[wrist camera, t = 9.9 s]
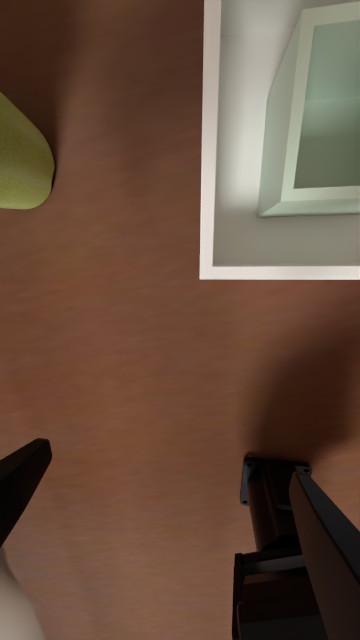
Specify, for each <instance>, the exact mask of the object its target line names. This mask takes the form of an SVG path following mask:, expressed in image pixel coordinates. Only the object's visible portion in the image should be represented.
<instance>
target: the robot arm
mask: <svg viewBox="0 0 360 640" xmlns="http://www.w3.org/2000/svg"><path fill="white" fill-rule="evenodd" d="M51 459H52V451H51V446H50V442H49V440H48V439H43V438H37V439H35V440H33V441H32V442H30V443H28V444H27V445H25V446H23V447H22V448H20V449H18V450H17V451H15V452H13V453H12V454H10V455H8V456H7V457H5V458H3V459H2V460H0V548H1V546H2V545H3V543H4V541H5V540H6V538H7V537H8V535H9V534H10V532H11V531H12V529H13V527H14V526H15V524H16V523H17V521H18V520H19V518H20V516H21V515H22V513H23V511H24V510H25V508H26V506H27V505H28V503H29V501H30V499H31V497H32V496H33V494H34V492H35V490H36V488H37V486H38V484H39V483H40V481H41V479H42V477H43V475H44V473H45V471H46V470H47V468H48V466H49V464H50V462H51ZM311 473H312V469H311V467H310V465H309V464H307V463H299V462H289V461H279V460H269V459H258V458H245V459H244V463H243V472H242V482H241V491H240V502H241V504H242V505H246V506H249V507H250V513H251V519H252V525H253V531H254V537H255V543H256V549H257V552H251V553H246V554H242V553H237V554H235V566H234V582H233V615H232V639H233V640H360V531H359V530H358V529H357V528H356V527H355V526H354V525H353V524H352V523H351V521H350V520H349V519H348V518H347V517H346V516H345V515H344V514H343V513H342V512H341V510H340V509H339V508H338V507H337V506H336V505H335V504H334V503H333V502H332V500H331V499H330V498H329V497H328V496H327V495H326V494H325V493H324V492H323V490H322V489H321V488H320V487H319V486H318V485H317V484H316V483H315V482H314V480H313V479H312V478H311Z"/></svg>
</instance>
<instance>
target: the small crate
mask: <svg viewBox="0 0 360 640" xmlns="http://www.w3.org/2000/svg"><path fill="white" fill-rule="evenodd" d="M353 214H360V1H358V2H351V3H345V4H338V5H331V6H324V7H317V8H310V9H303V10H302V12H301V15H300V17H299V20H298V22H297V25H296V27H295V30H294V32H293V35H292V37H291V40H290V42H289V45H288V47H287V50H286V52H285V55H284V58H283V60H282V63H281V65H280V68H279V70H278V73H277V75H276V78H275V80H274V83H273V85H272V88H271V90H270V93H269V95H268V98H267V104H266V116H265V128H264V140H263V151H262V163H261V175H260V187H259V199H258V210H257V218H268V217H296V216H325V215H353Z"/></svg>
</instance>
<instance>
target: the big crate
mask: <svg viewBox="0 0 360 640" xmlns="http://www.w3.org/2000/svg"><path fill="white" fill-rule="evenodd" d="M358 1H360V0H204V49H203V109H202V169H201V229H200V279H301V280H360V214H353V215H325V216H296V217H268V218H257V210H258V199H259V187H260V175H261V163H262V151H263V140H264V128H265V116H266V104H267V98H268V95H269V93H270V90H271V88H272V85H273V83H274V80H275V78H276V75H277V73H278V70H279V68H280V65H281V63H282V60H283V58H284V55H285V52H286V50H287V47H288V45H289V42H290V40H291V37H292V35H293V32H294V30H295V27H296V25H297V22H298V20H299V17H300V15H301V12H302V10H303V9H310V8H317V7H324V6H331V5H338V4H345V3H351V2H358Z"/></svg>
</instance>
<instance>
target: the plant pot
mask: <svg viewBox="0 0 360 640" xmlns="http://www.w3.org/2000/svg"><path fill="white" fill-rule="evenodd" d="M54 169H55V167H54V160H53V156H52V152H51V150H50V147H49V145H48V143H47V141H46V139H45V138H44V136H43V135H42V133H41V132H40V131H39V130H38V129H37V127H36V126H35V125H34V124H33V123H32V122H31V121H30V120H29V119H28V118H27V117H26V116H25V115H24V114H23V113H22V112H21V111H20V110H18V109H17V108H16V107H15V106H14V105H13V104H12V103H11V102H10V101H9V100H8V99H7V98H6V97H5V96H4V95H3V94H2V93H1V92H0V208H10V209H30V208H34V207H37V206H39V205H40V204H41V203H43V202H44V201H45V200H46V198H47V197H48V196H49V194H50V192H51V183H52V177H53V172H54Z"/></svg>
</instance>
